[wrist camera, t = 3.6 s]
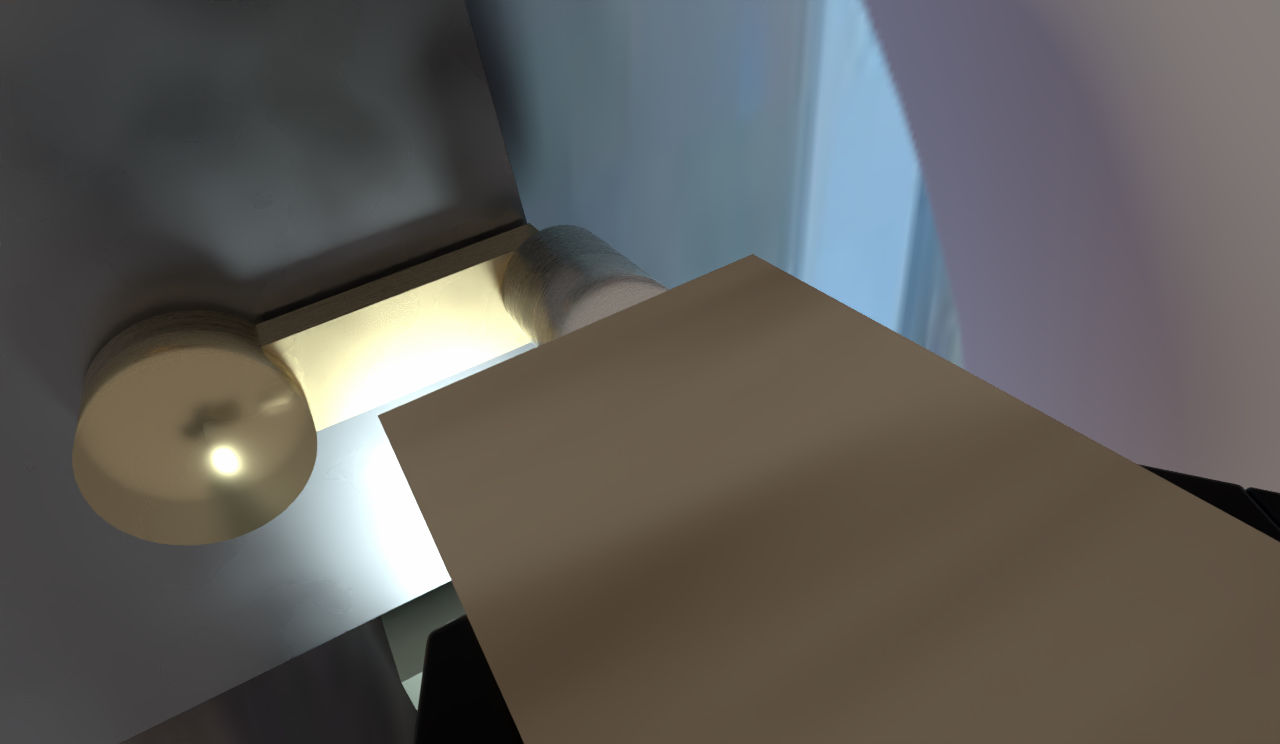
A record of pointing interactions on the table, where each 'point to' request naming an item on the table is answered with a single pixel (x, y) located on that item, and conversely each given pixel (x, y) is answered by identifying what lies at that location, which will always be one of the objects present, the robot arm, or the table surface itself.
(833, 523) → the block
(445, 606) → the tray
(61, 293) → the crank base
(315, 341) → the crank
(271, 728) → the table surface
